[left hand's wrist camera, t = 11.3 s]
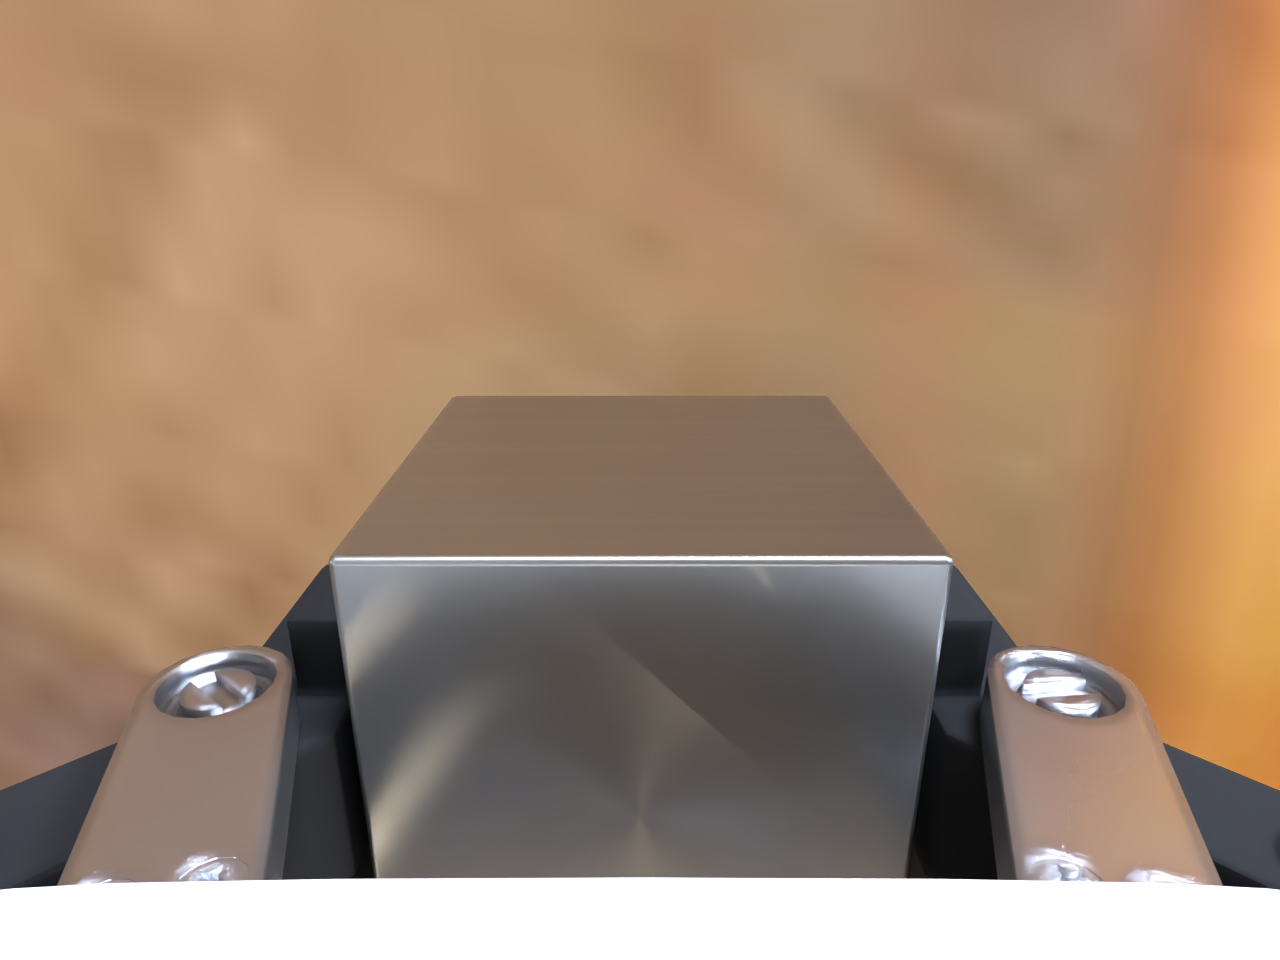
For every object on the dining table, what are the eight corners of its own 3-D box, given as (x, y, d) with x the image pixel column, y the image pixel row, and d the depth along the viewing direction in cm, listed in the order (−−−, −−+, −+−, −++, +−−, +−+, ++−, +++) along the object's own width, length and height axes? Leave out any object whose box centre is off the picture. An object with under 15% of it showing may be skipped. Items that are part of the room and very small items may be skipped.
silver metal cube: (478, 715, 13) (391, 1015, 9) (451, 394, 11) (323, 558, 7) (803, 714, 13) (890, 1015, 9) (829, 394, 11) (958, 558, 7)
